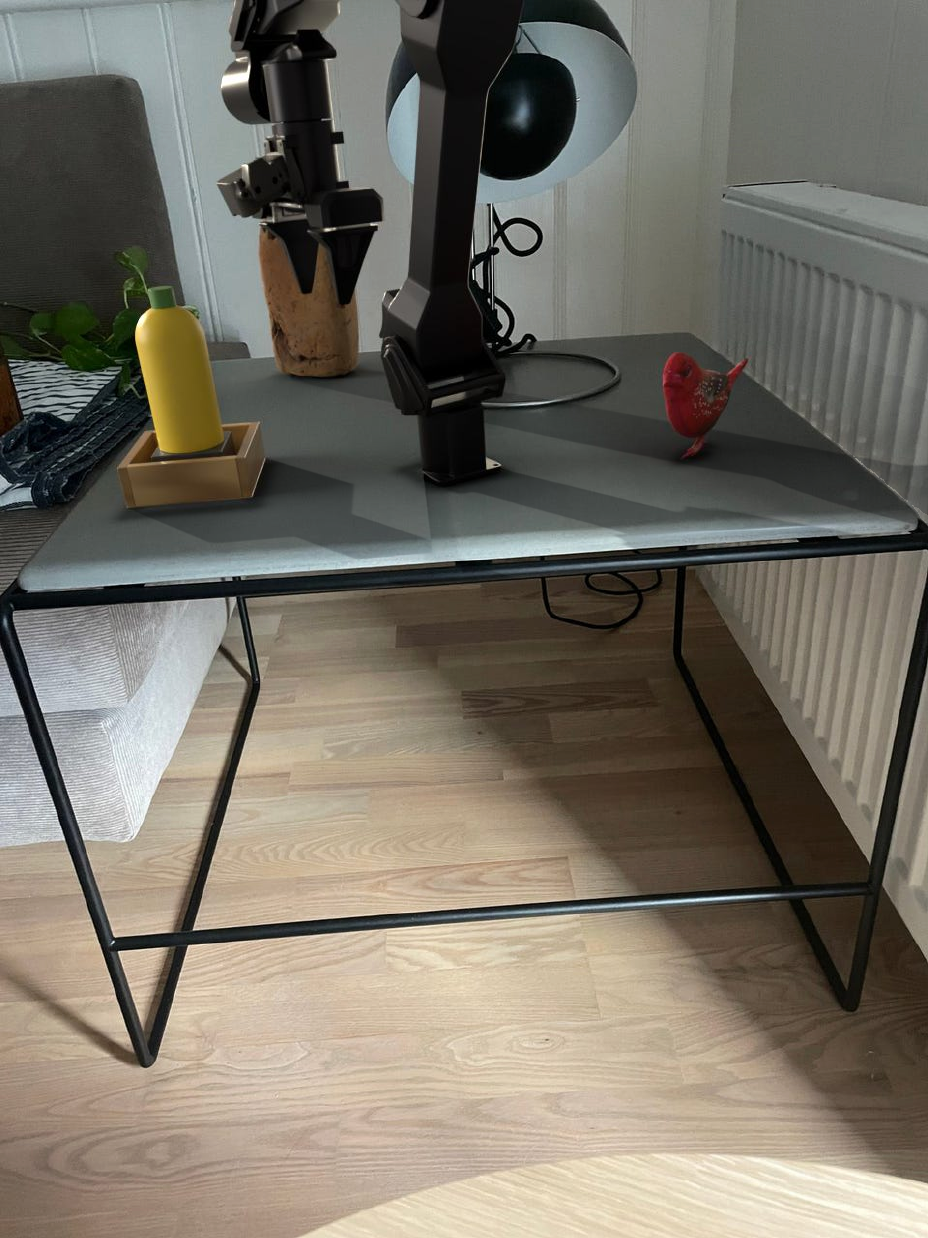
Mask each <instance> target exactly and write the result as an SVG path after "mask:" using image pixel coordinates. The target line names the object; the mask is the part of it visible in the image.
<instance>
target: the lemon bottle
mask: <svg viewBox="0 0 928 1238" xmlns="http://www.w3.org/2000/svg"><path fill="white" fill-rule="evenodd" d="M147 294H148V298H149V303H150V308H149V309H147V310H146V311H145V312H144V313H143V314H142V315H141V316H140V317H139V320H138V322H137V324H136V327H135V332H134V333H135V334H134V337H135V345H136V350H137V354H138V359H139V362H140V367H141V368H140V369H141V371H142V377H143V381H144V384H145V389H146V390H145V391H146V393H147V399H148V403H149V408H150V413H151V417H152V421H153V427H154V430H155V431H156V435H157V440H158V444H159V448H160V450H162V451H164V452H168V453H191V452H198V451H203V450H207V449H210V448H213V447H215V446H217V445H219V444H221V443H222V442H223V441H224V434H223V429H222V425H223V424H222V419H221V414H220V409H219V403H218V398H217V392H216V388H215V382H214V376H213V371H212V365H211V360H210V355H209V349H208V343H207V339H206V334H205V330H204V328H203V326H202V323H201V322H200V321H199V319H198V318H197V316H196V315H195V314H193V313H192V312H191V311H190V310H188V309H187V308H185V307H183V306H180V305H177V300H176V296H175V290H174V287H173V286H172V285H160V286H153V287H150V288H148V289H147Z"/></svg>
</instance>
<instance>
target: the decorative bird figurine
mask: <svg viewBox="0 0 928 1238" xmlns="http://www.w3.org/2000/svg"><path fill="white" fill-rule="evenodd" d="M748 362H749V357H748V358H744V359H743V360H742V361H740V362H739V363H738V364H737V365H736V366H735V367H733V368H732V369H731V370H730V371H729V372H728V373H726V374H724V373H722V372H720V371H717V370H712V369H702V368H700V367H699V366H700V365H698V363H697V362H696V360H695V359H694V357H692V355H691V356H690V355H689V354H688V353H684V352H680V351H679V352H678V351H676V352H674V353H672V354H670V356H669V357H668V359H667V361H666V363H665V365H664V368H663V374H662V390H663V391H662V392H663V396H664V402H665V411H666V415H667V419H668V421H669V423H670V425H671V427H672V428H673V430H674V431H675V432H676V433H677V434H679V435H680V436H682V437H684V438H689V439H695V438H696V440H695V442H693V445H692V446H691V447H690V448H688V449H687V451H686V453H684V454H683V455H682V456H681V458H680V460H682V459H684V458H687V457H694V456H695V455H696V454H697V453H698V452H699V451H700V450H702V449H703V448H704V445H707V444H708V443H707V441H706V440H704V438H705V436H706V435H707V433H709V432H710V431H712V429H714V427H715V426H716V425H717V423H718V421H719V419H720V418H721V416H722V413H723V412H724V410H725V409H726V407H727V406H728V403H729V400H730V395H731V392H732V388H733V385H734V384H735V382H736V380H737V379H738V378H739V376H740V375H741V373H742V372H743V370H744V369H745V367H746V366H747V364H748Z"/></svg>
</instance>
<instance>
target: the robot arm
mask: <svg viewBox="0 0 928 1238" xmlns="http://www.w3.org/2000/svg"><path fill="white" fill-rule="evenodd" d="M394 1H395V2H396V3H397V4H398V6H399V18H400V19H399V20H400V21H399V22H400V38H401V41H402V44H403V45H404V48H405V50H406V52H407V55H408V56H409V59H410V61H411V64H412V66H413V69H414V70H415V72H416V76H417V78H418V80H419V92H418V93H419V96H418V111H417V125H416V126H417V127H416V141H415V142H416V143H415V157H414V172H413V173H414V175H413V190H412V191H413V192H412V204H411V205H412V206H411V220H410V221H411V223H410V237H409V238H410V239H409V254H408V270H407V277H406V279H405V280H404V282H403V284H402V285H401V287H399V288H395V289H390V290H386V291H385V292H384V294H383V297H382V299H381V326H380V330H379V333H378V337H379V338H380V339H382V343H381V347H380V359H381V362H382V367H383V370H384V374H385V378H386V380H387V384H388V387H389V391H390V395H391V398H392V400H393V405H394V408H395V409H396V410H399V411H400V415H402V416H405V417H406V416H417V417H416V418H417V428H418V429H417V430H418V437H419V438H418V440H419V451H420V458H421V459H420V461H421V467H422V476H423V478H424V479H425V480H428V481H429V482H430V483H431V482H432V483H433V484H435V485H437V486H440V487H443V486H448V485H452V484H455V483H459V482H463V481H466V480H470V479H474V478H478V477H482V476H485V475H490V474H492V473H496V472H501V470H502V464H501V463H499V462H497V461H495V460H492V459H490V458H488V457H487V450H486V429H485V428H486V427H485V412H484V411H485V410H484V408H485V407H484V405H483V402H484V401H489V400H493V399H499V398H503V395H504V391H505V385H506V380H507V376H506V373H505V372H504V370H503V369H502V367H501V365H500V364H499V361H498V360H497V358H496V357H495V355H494V353H493V352H492V350H491V349H490V346H489V345H488V343H487V342H486V340H485V338H484V336H483V314H482V312H481V309H480V307H479V305H478V303H477V301H476V299H475V297H474V295H473V292H472V291H471V289H470V286H469V275H470V266H471V255H472V247H473V237H474V236H473V235H474V227H475V218H476V206H477V200H478V188H479V179H480V170H481V160H482V152H483V151H482V150H483V142H484V133H485V124H486V123H485V122H486V112H487V104H488V103H487V102H488V95H489V90H490V88H491V87H492V85H493V84H494V81H495V80H496V78H497V77H498V75H499V73H500V71H501V70H502V69H503V67H504V65H505V64H506V62H507V61H508V59H509V57H510V56H511V54H512V53H513V50H514V49H515V44H516V40H517V35H518V31H519V27H520V26H519V25H520V21H521V17H522V13H523V8H524V3H525V0H394ZM340 2H341V0H234V3H233V7H232V11H231V16H230V21H229V26H228V31H227V32H228V33H229V35H230V50H231V52H232V53H234V59H235V60H234V61H232V62H231V63H230V64H228V66H227V68H226V69H225V71H224V73H223V75H222V81H221V86H220V92H221V97H222V101H223V103H224V105H225V107H226V109H227V111H228V112H229V113H230V114H231V116H232V117H233V118H235V119H236V120H237V121H238V122H240V123H242V124H245V125H251V126H252V125H253V126H254V125H255V126H256V125H268V124H269V125H270V127H271V133H272V135H269V136H268V135H267V136H265V140H263V150H264V155H263V156H261V157H260V156H259V157H254V158H252V160H253V161H250V162H248V163H242V164H241V167H239V168H237V169H236V170H234V171H232V172H230V173H228V174H227V175H225V176H223V177H222V178H220V179H218V180H217V181H216V182H215V184H216V186H217V188H218V190H219V192H220V194H221V196H222V198H223V200H224V202H225V204H226V205H227V207H228V210H229V212H230V214H231V215H232V217H236V216H240V217H241V218H243V219H246V218H247V219H248V218H249V217H252V219H257V220H263V219H266V221H265V222H262V221H258V225H259V226H260V228H261V227H262V228H264V229H266V230H267V231H269V232H270V233H271V234H272V235H274V236H275V237H276V238H277V239H278V240H279V242H280V244H281V246H282V248H283V251H284V253H285V255H286V257H287V260H288V262H289V265H290V267H291V270H292V272H293V275H294V277H295V279H296V282H297V284H298V287H299V289H300V292H301V293H302V294H310V293H312V291H313V285H314V279H315V272H316V265H317V257H318V249H319V243H320V244H321V245H322V246H323V247H324V249H325V253H326V257H327V261H328V265H329V270H330V274H331V278H332V282H333V286H334V290H335V294H336V297H337V301H338V304H339V305H347V304H350V302H351V299H352V296H353V293H354V290H355V291H356V287H357V283H358V280H359V277H360V274H361V271H362V267H363V265H364V262H365V258H366V257H367V254H368V251H369V249H370V245H371V243H372V241H373V237H374V235H375V232H378V231H379V229H380V227H379V224H377V223H381V222H385V221H386V216H385V204H384V198H383V197H382V195H380V193H378V192H377V191H376V190H375V188H373V187H361V186H355V187H350V182H349V180H344V179H343V180H342V179H341V174H340V173H341V172H340V164H339V155H338V147H337V145H345V135H344V131H341V130H340V131H336V130H335V129H336V128H335V127H336V126H335V120H334V112H333V103H332V93H331V85H330V76H329V69H328V68H329V67H328V61H331V60H335V59H337V57H338V52H337V50H336V48H335V47H334V45H333V44H332V43H331V42H329V41H328V40H327V39H326V38H325V37H324V36H323V35H324V33H325V31H326V30H328V28H329V27H330V26H331V25H332V24H333V23H334V21H335V20H336V19H337V18H338V17H339V16H340V14H341V6H340V5H341V3H340ZM321 228H324V229H321ZM458 378H463V380H459V381H455V382H451V383H448V384H447V383H446V384H444V385H440V386H436V387H431V388H430V387H429V386H430V385H431V386H432V385H435V384H439V383H442V382H447V381H451V380H455V379H458Z"/></svg>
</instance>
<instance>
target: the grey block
mask: <svg viewBox="0 0 928 1238" xmlns="http://www.w3.org/2000/svg"><path fill="white" fill-rule="evenodd" d="M223 434H224V441H223V442H222V443H221V444H219V445H217V446H215V447H213V448H210V449H207V450H203V451H198V452H191V453H168V452H164V451H162V450H160V448H159V446H158V448H157V449H156V451H155V452H154V454H153V455H152V456H151V460H152V462H163V461H175V460H187V459H199V458H211V457H223V456H235V455H236V454H235V449H234V444H233V438H232V433H231V431H223Z"/></svg>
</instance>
